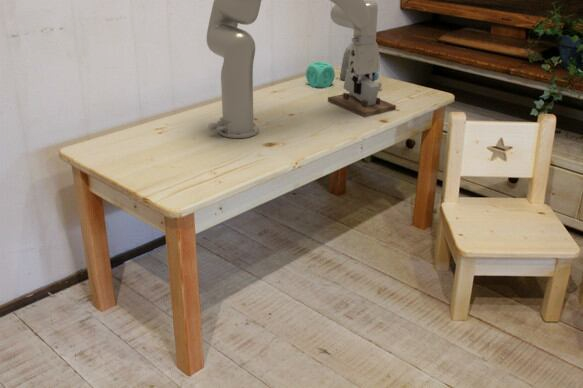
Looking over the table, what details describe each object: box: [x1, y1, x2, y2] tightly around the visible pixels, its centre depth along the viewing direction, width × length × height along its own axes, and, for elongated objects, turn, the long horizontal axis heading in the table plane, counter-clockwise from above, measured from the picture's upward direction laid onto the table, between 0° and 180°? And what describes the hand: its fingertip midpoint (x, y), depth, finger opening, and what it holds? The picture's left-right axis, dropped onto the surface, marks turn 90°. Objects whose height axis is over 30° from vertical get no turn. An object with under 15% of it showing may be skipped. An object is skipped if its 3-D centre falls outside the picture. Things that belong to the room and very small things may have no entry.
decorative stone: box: [339, 41, 353, 81], centre depth 249 cm, size 11×6×15 cm, turn 143°
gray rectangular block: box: [343, 70, 380, 106], centre depth 219 cm, size 4×14×7 cm, turn 33°
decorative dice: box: [305, 61, 336, 89], centre depth 242 cm, size 8×8×8 cm
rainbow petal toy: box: [364, 72, 382, 90], centre depth 238 cm, size 8×10×7 cm
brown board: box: [327, 92, 397, 118], centre depth 221 cm, size 14×20×4 cm
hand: (361, 91), depth 220 cm, fingers closed on gray rectangular block, 3 cm apart
